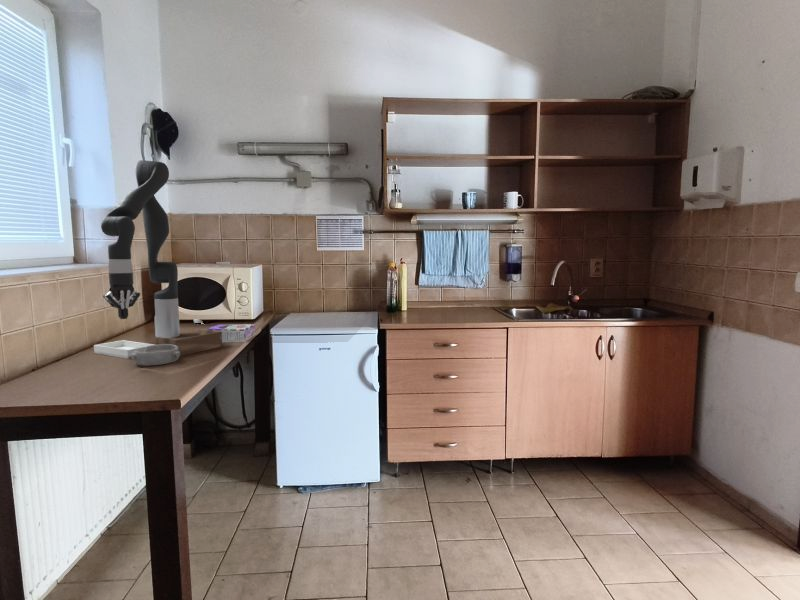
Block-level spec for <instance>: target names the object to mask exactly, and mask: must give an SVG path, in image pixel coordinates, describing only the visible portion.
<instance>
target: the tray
mask: <svg viewBox="0 0 800 600" xmlns="http://www.w3.org/2000/svg"><path fill="white" fill-rule="evenodd" d="M151 345H155V344H153V343H146V342H140V341H139V342H138V341H131V340H125V339H122V340H116V341H110V342H103V343H98V344H93V353H94V354H98V355H104V356H109V357H115V358H120V359H121V358H122V359H132V358H131V354H132V353H134V351H135V350H136V351H137V352H144V351H145V349H146V347H147V346H151Z"/></svg>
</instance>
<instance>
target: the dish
mask: <svg viewBox="0 0 800 600" xmlns="http://www.w3.org/2000/svg"><path fill="white" fill-rule="evenodd" d="M180 357H181V356H180V352H179V348H178V346H176V345H173V344H159V345H156V344H154V345H151V346H147V347H146V349H145V351H144V352H137V351H136V350H135V351H134V353H132V354H131V358H130V359H131V360H132V361H134V362H135V365H137V366H145V367H147V366H148V367H149V366H159V365H161V366H162V365H165V364H171V363H174V362H176V361H178V360H179V358H180Z"/></svg>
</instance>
